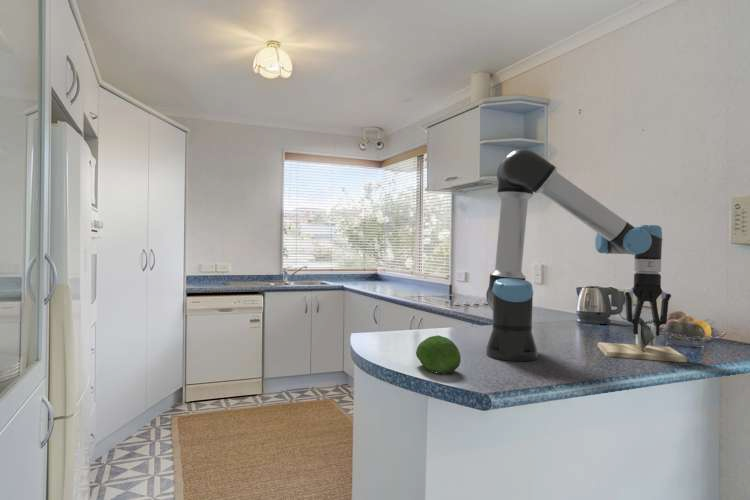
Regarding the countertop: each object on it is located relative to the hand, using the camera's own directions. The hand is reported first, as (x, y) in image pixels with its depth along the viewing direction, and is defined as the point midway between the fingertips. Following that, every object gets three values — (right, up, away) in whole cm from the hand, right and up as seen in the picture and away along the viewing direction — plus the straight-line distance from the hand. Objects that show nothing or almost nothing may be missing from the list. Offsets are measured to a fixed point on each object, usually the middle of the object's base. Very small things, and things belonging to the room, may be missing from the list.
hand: (645, 344), depth 152 cm
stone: (0, -2, 0) cm, 2 cm away
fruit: (-71, -2, -27) cm, 76 cm away
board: (-2, -3, +1) cm, 4 cm away
